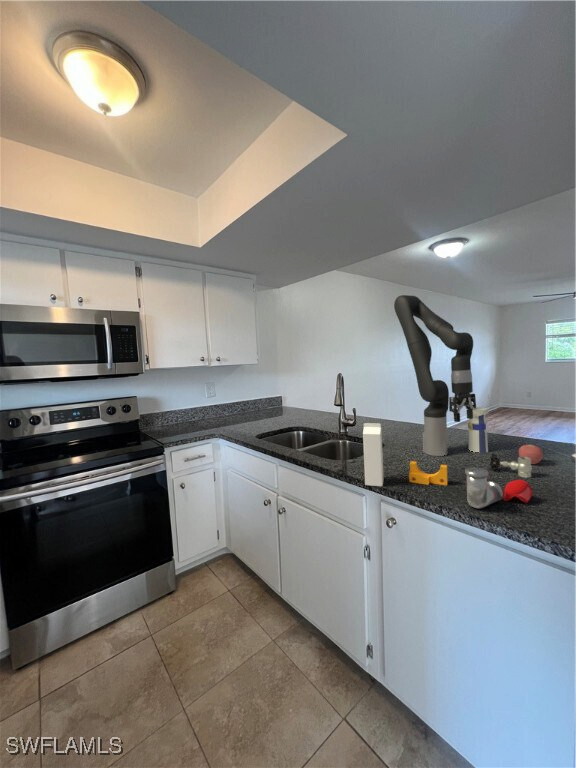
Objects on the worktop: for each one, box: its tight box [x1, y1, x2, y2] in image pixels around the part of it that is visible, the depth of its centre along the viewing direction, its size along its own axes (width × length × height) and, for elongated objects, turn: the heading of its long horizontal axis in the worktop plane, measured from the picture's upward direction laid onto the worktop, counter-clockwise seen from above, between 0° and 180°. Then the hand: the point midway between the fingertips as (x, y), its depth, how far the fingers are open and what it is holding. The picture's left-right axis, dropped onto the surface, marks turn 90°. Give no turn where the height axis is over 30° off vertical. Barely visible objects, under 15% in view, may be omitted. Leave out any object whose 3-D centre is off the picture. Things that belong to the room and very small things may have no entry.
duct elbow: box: [464, 466, 505, 510], centre depth 92 cm, size 11×6×11 cm, turn 118°
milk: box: [362, 422, 384, 487], centre depth 113 cm, size 6×6×22 cm
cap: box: [503, 479, 534, 504], centre depth 94 cm, size 8×6×6 cm
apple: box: [518, 444, 544, 465], centre depth 123 cm, size 7×7×8 cm
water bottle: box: [467, 407, 489, 454], centre depth 141 cm, size 8×9×25 cm
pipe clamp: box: [408, 460, 449, 486], centre depth 111 cm, size 12×4×6 cm, turn 58°
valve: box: [489, 453, 533, 479], centre depth 114 cm, size 7×7×12 cm
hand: (463, 420), depth 129 cm, fingers open, 8 cm apart
